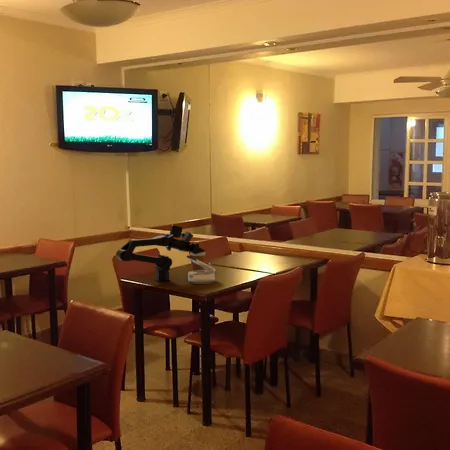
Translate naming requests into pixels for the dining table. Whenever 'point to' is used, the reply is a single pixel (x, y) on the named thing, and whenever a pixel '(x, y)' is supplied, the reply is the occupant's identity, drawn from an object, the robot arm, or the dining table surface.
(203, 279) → the pot
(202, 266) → the lid
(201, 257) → the disposable coffee cup
